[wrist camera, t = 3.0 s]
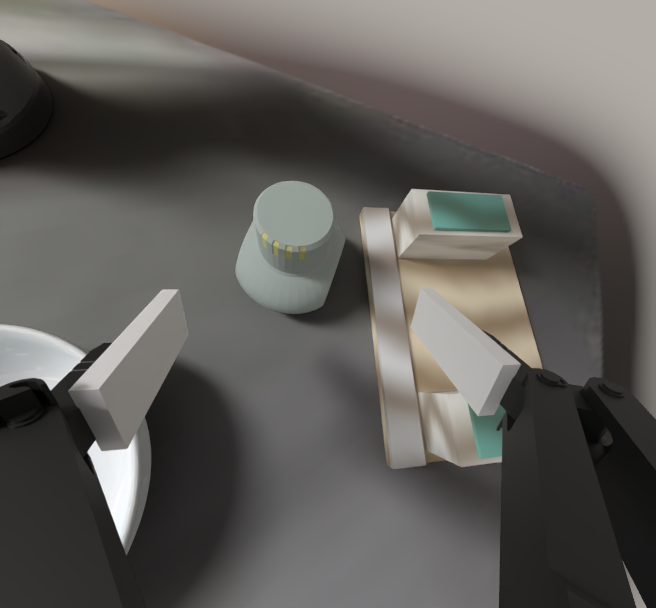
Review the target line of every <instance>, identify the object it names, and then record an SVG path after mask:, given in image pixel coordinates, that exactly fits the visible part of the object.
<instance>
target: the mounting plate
mask: <svg viewBox="0 0 656 608" xmlns="http://www.w3.org/2000/svg"><path fill="white" fill-rule="evenodd" d="M360 225H361V234H362V243H363V252H364V262H365V271H366V280H367V289H368V298H369V307H370V316H371V325H372V334H373V344H374V353H375V362H376V371H377V380H378V389H379V398H380V407H381V417H382V426H383V435H384V444H385V453H386V462H387V465H389V466H390V467H391V468H392V469H401V468H409V467H417V466H425V465H426V463H430V462H438V461H446V460H447V461H450V462H452V463H454V464H456V465H458V466H460V467H467V466H474V465H482V464H490V463H497V462H502V429H503V428H501V429H500V430H499V431H497V430H496V429H497V426H498V424H499V423H500V421H501V419H502V417H503V416H504V414H505V412H506V410H505V409H504V408H503V407H502V406H501V405H499V407H498V408H497V410H496V412H495V414H494V415H486V416H477V415H476V413H475V412H474V411H473V409H472V408H471V407H470V405H469V404H468V403H467V401H466V400H465V399H464V397H463V396H462V395H461V393H460V392H459V391H458V390H457V388H456V387H455V386H454V384H453V383H452V382H451V380H450V379H449V378H448V376H447V375H446V374H445V372H444V371H443V370H442V369H441V367H440V366H439V365H438V363H437V362H436V361H435V359H434V358H433V357H432V355H431V354H430V353H429V351H428V350H427V349H426V347H425V346H424V345H423V344H422V342H421V341H420V340H419V338H418V337H417V336H416V334H415V333H414V332H413V330H412V329H411V324H412V320H413V316H414V312H415V308H416V304H417V300H418V296H419V293H420V289H421V288H433V289H434V290H435V291H436V292H437V293H439V294H440V295H441V296H442V297H443V298H444V299H446V300H447V301H448V302H449V303H450V304H451V305H453V306H454V307H455V308H456V309H457V310H458V311H460V312H461V313H462V314H463V315H464V316H465V317H467V318H468V319H469V320H470V321H471V322H472V323H474V324H475V325H476V326H477V327H478V328H479V329H481V330H484V331H486V332H487V333H489V334H491V335H493V336H494V337H495V338H496V339H498V340H499V341H500V342H501V344H504V345H505V346H506V347H507V348H508V349H510V350H511V351H512V352H513V353H514V354H516V355H517V356H518V357H519V358H520V359H522V360H523V361H524V362H525V363H526V364H528V365H529V366H530V367H531V368H541V369H543V368H542V364H541V360H540V357H539V353H538V350H537V346H536V343H535V339H534V336H533V332H532V328H531V325H530V321H529V318H528V314H527V311H526V307H525V304H524V300H523V296H522V293H521V289H520V286H519V282H518V279H517V275H516V271H515V268H514V264H513V261H512V257H511V254H510V250H509V247H508V246H509V245H511V244H513V243H514V242H516V241H517V240H519V239H521V238H522V233H521V230H520V227H519V223H518V220H517V217H516V213H515V210H514V207H513V203H512V200H511V197H510V195H506V194H489V193H473V192H456V191H439V190H422V189H411V190H410V192H409V193H408V195H407V197H406V198H405V200H404V201H403V203H402V204H401V206H400V207H399V209H398V210H397V212H389V208H372V207H363V209H362V211H361V213H360Z"/></svg>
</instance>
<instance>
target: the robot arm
mask: <svg viewBox="0 0 656 608" xmlns="http://www.w3.org/2000/svg"><path fill="white" fill-rule="evenodd" d="M52 109H53V99H52V95H51V92H50V90H49V88H48V86H47V85H46V83H45V82H44V81H43V79H42V78H41V77H40V76H39V74H38V73H37V72H36V71H35V69H34V68H33V67H32V66H31V65H30V63H29V62H28V61H27V60H26V59H25V58H24V57H23V56H22V55H21V54H20V53H19V52H17V51H16V50H15V49H14V48H13V47H11V46H10V45H9V44H7V43H5V42H4V41H2V40H0V158H2V157H5V156H7V155H9V154H12V153H14V152H16V151H17V150H19V149H21V148H23V147H24V146H26V145H27V144H29V143H30V142H31V141H32V140H34V139H35V138H36V137H37V136H38V135H39V134H40V133H41V132H42V131H43V129H44V128H45V127H46V125H47V123H48V121H49V119H50V117H51V114H52ZM411 329H412V330H413V332H414V333H415V334H416V336H417V337H418V338H419V340H420V341H421V342H422V344H423V345H424V346H425V347H426V349H427V350H428V351H429V353H430V354H431V355H432V357H433V358H434V359H435V361H436V362H437V363H438V365H439V366H440V367H441V369H442V370H443V371H444V372H445V374H446V375H447V376H448V378H449V379H450V380H451V382H452V383H453V384H454V386H455V387H456V388H457V390H458V391H459V392H460V393H461V395H462V396H463V397H464V399H465V400H466V401H467V403H468V404H469V405H470V407H471V408H472V409H473V411H474V412H475V413H476V415H477V416H486V415H494V414H495V412H496V410H497V408H498V407H499V405H501V406H502V407H503V408H504V409H505V410H506V412H505V414H504V416H503V417H502V419H501V421H500V423H499V424H498V426H497V429H496V430H497V431H499V430H500V429H501V428H503V429H502V481H501V534H500V586H499V608H636V605H635V602H634V599H633V595H632V592H631V589H630V585H629V582H628V579H627V575H626V572H625V569H624V565H623V562H624V564H625V566H626V568H627V570H628V572H629V574H630V576H631V577H632V579H633V581H634V583H635V585H636V587H637V589H638V591H639V593H640V595H641V597H642V599H643V601H644V603H645V605H646V607H647V608H656V419H655V418H654V417H653V416H652V415H651V414H650V413H649V412H648V411H647V410H646V409H645V408H644V406H643V405H642V404H641V403H640V402H639V401H638V400H637V399H636V398H635V397H634V396H633V395H632V394H631V393H630V392H629V391H627V390H626V389H624V388H623V387H621V386H620V385H619V384H617V383H613V382H612V381H609V380H605V379H602V378H595V377H593V378H589V380H588V381H587V382H586V384H585V385H584V387H582V386H577V385H571V384H568V383H567V382H566V381H565V380H564V379H563V378H562V377H560V376H558V375H557V374H555V373H553V372H550V371H548V370H545V369H541V368H531V367H530V366H529V365H528V364H526V363H525V362H524V361H523V360H522V359H520V358H519V357H518V356H517V355H516V354H514V353H513V352H512V351H511V350H510V349H508V348H507V347H506V346H505V345H504V344H501V342H500V341H499V340H498V339H496V338H495V337H494V336H493V335H491V334H489V333H487V332H486V331H484V330H481V329H479V328H478V327H477V326H476V325H475V324H474V323H472V322H471V321H470V320H469V319H468V318H467V317H465V316H464V315H463V314H462V313H461V312H460V311H458V310H457V309H456V308H455V307H454V306H453V305H451V304H450V303H449V302H448V301H447V300H446V299H444V298H443V297H442V296H441V295H440V294H439V293H437V292H436V291H435V290H434V289H433V288H421V289H420V293H419V296H418V300H417V304H416V308H415V312H414V316H413V320H412V324H411ZM188 335H189V333H188V328H187V324H186V319H185V315H184V310H183V306H182V302H181V297H180V293H179V289H178V290H161V291H160V293H159V294H158V295H157V296H156V297H155V298H154V299H153V300H152V301H151V302H150V303H149V304H148V305H147V306H146V308H145V309H144V310H143V311H142V312H141V313H140V314H139V315H138V316H137V317H136V318H135V319H134V320H133V322H132V323H131V324H130V325H129V326H128V327H127V328H126V329H125V330H124V331H123V332H122V333H121V334H120V335H119V337H118V338H117V339H116V340H115V341H114V342H113V343H104V344H102V345H100V346H98V347H97V348H95V349H93V350H92V351H90V352H89V353H88V354H87V355H86V356H85V357H84V358H83V359H82V360H81V361H80V363H78V364H77V365H76V366H75V367H74V368H73V369H72V371H70V372H69V373H68V374H67V375H66V376H65V377H64V378H63V379H62V380H61V381H60V382H59V383H58V384H57V385H56V386H55V387H54V388H53V389H52V390H51V391H50V389H49V387H48V386H47V384H46V383H45V382H44V381H43V380H42V379H38V378H28V379H21V380H18V381H14V382H11V383H8V384H5V385H3V386H1V387H0V608H145V605H144V603H143V600H142V597H141V594H140V592H139V589H138V586H137V583H136V581H135V578H134V575H133V572H132V570H131V567H130V564H129V561H128V559H127V556H126V553H125V550H124V548H123V545H122V542H121V539H120V537H119V534H118V531H117V528H116V526H115V523H114V520H113V517H112V515H111V512H110V509H109V506H108V504H107V501H106V498H105V495H104V493H103V490H102V487H101V484H100V482H99V479H98V476H97V473H96V471H95V468H94V465H93V462H92V460H91V457H90V456H89V454H88V450H89V449H90V447H91V446H92V444H93V443H94V441H96V442H97V444H98V446H99V448H100V450H101V451H111V450H121V449H128V447H129V445H130V443H131V441H132V439H133V437H134V436H135V434H136V432H137V430H138V428H139V426H140V424H141V423H142V421H143V419H144V417H145V415H146V413H147V411H148V410H149V408H150V406H151V404H152V402H153V400H154V398H155V397H156V395H157V393H158V391H159V389H160V387H161V385H162V384H163V382H164V380H165V378H166V376H167V374H168V372H169V371H170V369H171V367H172V365H173V363H174V361H175V359H176V358H177V356H178V354H179V352H180V350H181V348H182V346H183V345H184V343H185V341H186V339H187V337H188ZM609 432H610V433H611V435H612V438H613V443H612V444H611V445H608V444H607V442H606V441H605V440H604V438H605V437H606V436H607V435H608V433H609ZM622 560H623V562H622Z"/></svg>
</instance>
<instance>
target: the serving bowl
mask: <svg viewBox="0 0 656 608" xmlns="http://www.w3.org/2000/svg"><path fill="white" fill-rule="evenodd" d="M89 352H90V351H88V350H86V349H85V348H83V347H81V346H79V345H77V344H75V343H72V342H70V341H68V340H66V339H64V338H61V337H58V336H56V335H53V334H50V333H47V332H44V331H40V330H36V329H32V328H27V327H21V326H13V325H5V324H0V387H1V386H3V385H5V384H8V383H11V382H14V381H18V380H21V379H28V378H38V379H42V380H43V381H44V382H45V383H46V384H47V386H48V387H49V389H50V391H51V390H52V389H53V388H54V387H55V386H56V385H57V384H58V383H59V382H60V381H61V380H62V379H63V378H64V377H65V376H66V375H67V374H68V373H69V372H70V371H72V369H73V368H74V367H75V366H76V365H77V364H78V363H80V361H81V360H82V359H83V358H84V357H85V356H86V355H87V354H88V353H89ZM88 454H89V456H90V457H91V460H92V462H93V465H94V468H95V471H96V473H97V476H98V479H99V482H100V484H101V487H102V490H103V493H104V495H105V498H106V501H107V504H108V506H109V509H110V512H111V515H112V517H113V520H114V523H115V526H116V528H117V531H118V534H119V537H120V539H121V542H122V545H123V548H124V550H125V553H126V556H127V554H128V552H129V549H130V547H131V545H132V542H133V540H134V537H135V535H136V532H137V529H138V527H139V524H140V521H141V518H142V514H143V511H144V507H145V504H146V499H147V495H148V489H149V483H150V475H151V445H150V437H149V431H148V426H147V422H146V419H145V417H144V419H143V421H142V423H141V424H140V426H139V428H138V430H137V432H136V434H135V436H134V437H133V439H132V441H131V443H130V445H129V447H128V449H121V450H111V451H101V450H100V448H99V446H98V444H97V442H96V441H94V443H93V444H92V446H91V447H90V449H89V450H88Z"/></svg>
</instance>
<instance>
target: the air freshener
mask: <svg viewBox="0 0 656 608" xmlns="http://www.w3.org/2000/svg"><path fill="white" fill-rule="evenodd" d="M253 219H254V220H253V222H252V224H251V226H250V228H249V230H248V232H247V234H246V236H245V239H244V241H243V244H242V247H241V249H240V252H239V256H238V260H237V264H236V276H237V279H238V281H239V283H240V285H241V286H242V288H243V289H244V291H245V292H246V293H247V294H248V295H249V296H250V297H251V298H252V299H253V300H255V301H256V302H257V303H259V304H260V305H262V306H264V307H266V308H268V309H270V310H273V311H276V312H280V313H286V314H300V313H307V312H310V311H313V310H316V309H318V308H320V307H322V306H323V305H324V302H325V299H326V297H327V294H328V291H329V288H330V286H331V283H332V280H333V277H334V274H335V271H336V268H337V265H338V262H339V259H340V256H341V253H342V250H343V247H344V244H345V240H346V239H345V237H344V235H343V233H342V231H341V230H340V228H339V227H338V226H337V224H336V212H335V209H334V206H333V204H332V202H331V201H330V199H329V198H328V197H327V196H326V195H324V194H323V192H322V191H321V190H320V189H318V188H316V187H314V186H312V185H310V184H308V183H304V182H299V181H284V182H279V183H276V184H274V185H272V186H270V187H268V188H267V189H265V190H264V191H263V192H262V193H261V194H260V195H259V197H258V199H257V200H256V203H255V205H254V210H253Z"/></svg>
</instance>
